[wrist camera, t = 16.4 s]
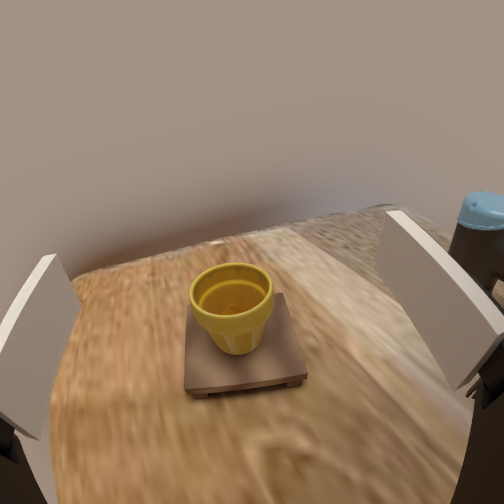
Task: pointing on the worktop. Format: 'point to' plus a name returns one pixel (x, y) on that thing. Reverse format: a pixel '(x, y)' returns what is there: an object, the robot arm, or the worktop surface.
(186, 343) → the walnut stand
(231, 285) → the plant pot
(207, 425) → the worktop surface
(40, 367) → the robot arm
